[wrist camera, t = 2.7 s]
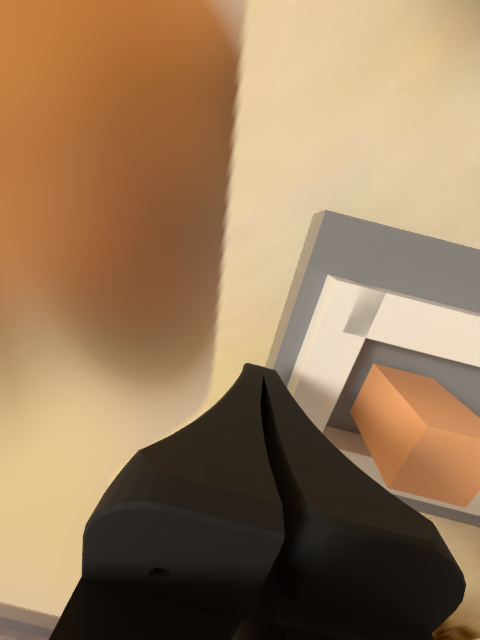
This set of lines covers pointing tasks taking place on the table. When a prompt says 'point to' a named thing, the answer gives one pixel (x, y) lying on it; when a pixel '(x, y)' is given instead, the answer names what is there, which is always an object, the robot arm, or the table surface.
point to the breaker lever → (419, 435)
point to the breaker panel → (393, 272)
